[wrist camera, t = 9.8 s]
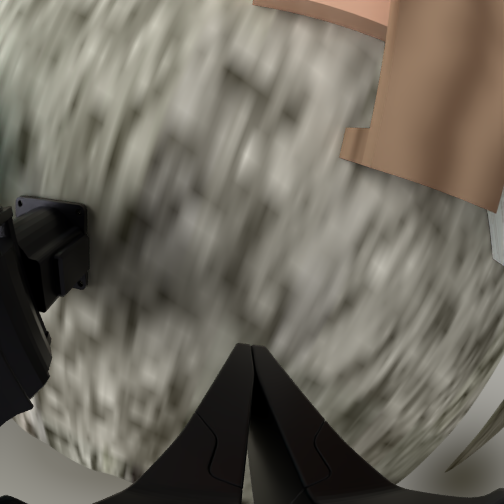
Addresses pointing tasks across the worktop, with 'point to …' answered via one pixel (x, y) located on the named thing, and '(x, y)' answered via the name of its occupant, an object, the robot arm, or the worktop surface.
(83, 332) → the worktop surface
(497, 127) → the shelf
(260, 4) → the tile
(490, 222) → the supplement box
